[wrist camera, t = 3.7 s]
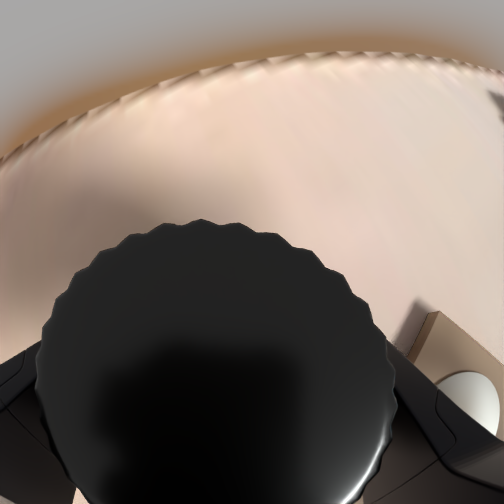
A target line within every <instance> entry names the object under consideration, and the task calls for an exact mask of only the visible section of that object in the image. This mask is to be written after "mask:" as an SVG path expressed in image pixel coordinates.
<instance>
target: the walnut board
mask: <svg viewBox="0 0 504 504" xmlns="http://www.w3.org/2000/svg"><path fill="white" fill-rule="evenodd" d="M407 359H408V360H410V361H411V362H412V363H413V364H414V365H415V366H416V367H417V368H418V369H419V370H420V371H421V372H422V373H423V374H424V375H426V376H427V377H428V378H429V379H430V380H431V381H432V382H433V383H434V384H435V385H436V386H437V387H438V389H440V390H441V391H443V392H444V393H445V394H446V395H447V396H448V397H449V398H450V399H451V400H452V401H453V402H454V403H455V404H456V405H458V406H459V407H460V408H461V409H462V410H463V411H465V412H466V413H467V414H468V415H469V416H471V417H472V418H473V419H474V420H476V421H477V422H478V423H479V424H481V425H482V426H483V427H485V428H486V429H487V430H488V431H490V432H491V433H492V434H493V435H495V436H496V437H497V438H499V439H500V440H502V441H504V365H503V364H502V363H500V362H499V361H498V360H497V359H496V358H495V357H494V356H493V355H492V354H490V353H489V352H488V351H487V350H486V349H485V348H484V347H482V346H481V345H480V344H479V343H478V342H477V341H476V340H474V339H473V338H472V337H471V336H470V335H468V334H467V333H466V332H465V331H464V330H463V329H461V328H460V327H459V326H458V325H456V324H455V323H454V322H453V321H452V320H450V319H449V318H448V317H447V316H445V315H444V314H443V313H442V312H441V311H436V312H432V313H429V314H428V316H427V318H426V320H425V322H424V324H423V326H422V329H421V331H420V333H419V335H418V337H417V339H416V341H415V343H414V345H413V346H412V348H411V350H410V352H409V354H408V356H407ZM354 504H363V495H362V497H361V499H359V500H358V501H357V502H355V503H354Z"/></svg>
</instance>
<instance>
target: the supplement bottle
mask: <svg viewBox="0 0 504 504" xmlns="http://www.w3.org/2000/svg"><path fill="white" fill-rule="evenodd" d="M35 359H36V369H37V380H36V384H35V393H36V397H37V400H38V403H39V406H40V413H39V417H40V422H41V424H42V426H43V428H44V430H45V432H46V434H47V436H48V440H49V446H50V450H51V452H52V453H53V454H54V456H55V457H56V458H57V460H58V461H59V462H60V464H61V465H62V468H63V470H64V473H65V475H66V477H67V479H68V480H69V481H70V482H71V483H72V484H74V485H75V486H76V487H77V488H78V489H79V490H80V491H81V493H82V494H83V496H84V497H85V499H86V500H87V502H88V503H89V504H354V503H355V502H357V501H358V500H359V499H361V497H362V495H363V493H364V489H365V487H366V485H367V484H368V483H369V482H370V481H371V480H372V479H373V478H374V477H375V476H376V475H377V474H378V472H379V471H380V468H381V463H382V456H383V454H384V453H385V451H386V450H387V448H388V447H389V445H390V443H391V442H392V427H391V424H392V422H393V419H394V417H395V414H396V411H397V408H398V404H397V400H396V397H395V396H394V392H393V389H394V383H395V376H396V370H395V368H394V367H393V365H392V363H391V362H390V361H389V359H388V357H387V341H386V336H385V335H384V334H383V333H382V331H381V330H380V329H379V328H378V327H377V326H376V325H375V324H374V323H373V319H372V315H371V311H370V308H369V305H368V303H366V302H365V301H364V300H362V299H361V298H359V297H357V296H356V295H354V294H353V293H352V291H351V289H350V287H349V284H348V283H347V281H346V279H345V277H344V276H343V275H342V274H340V273H338V272H336V271H334V270H330V269H328V268H326V267H325V266H324V265H323V264H322V262H321V261H320V259H319V258H318V257H317V256H316V255H315V254H314V253H313V251H310V250H307V249H303V248H296V247H292V246H291V245H290V244H289V243H288V242H287V241H286V240H285V239H284V238H282V237H281V236H280V235H278V234H277V233H267V232H264V233H256V232H255V231H253V230H252V229H250V228H249V227H247V226H245V225H243V224H241V223H229V224H226V225H217V224H215V223H212V222H210V221H206V220H203V219H199V220H196V221H192V222H190V223H188V224H186V225H182V226H181V225H175V224H169V223H163V224H161V225H160V226H158V227H156V228H154V229H153V230H151V231H150V232H148V233H146V234H139V233H137V234H130V235H129V236H128V237H126V238H125V239H124V240H123V241H122V242H121V243H120V244H119V245H118V246H117V247H115V248H110V249H106V250H103V251H100V252H99V253H98V255H97V256H96V257H95V258H94V260H93V261H92V263H91V264H90V265H89V267H87V268H85V269H82V270H80V271H78V272H77V273H75V275H74V276H73V278H72V280H71V282H70V284H69V287H68V289H67V290H66V291H65V292H64V293H62V294H61V295H60V296H59V297H58V298H56V300H55V304H54V307H53V311H52V315H51V317H50V319H49V320H48V321H47V322H46V323H45V325H44V326H43V328H42V340H41V347H40V349H39V351H38V353H37V355H36V358H35Z"/></svg>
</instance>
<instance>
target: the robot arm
mask: <svg viewBox="0 0 504 504" xmlns="http://www.w3.org/2000/svg"><path fill="white" fill-rule="evenodd" d="M386 341H387V357H388V359H389V361H390V362H391V363H392V365H393V367H394V368H395V370H396V376H395V383H394V389H393V392H394V396H395V397H396V400H397V404H398V408H397V411H396V414H395V417H394V419H393V422H392V424H391V427H392V442H391V443H390V445H389V447H388V448H387V450H386V451H385V453H384V454H383V456H382V463H381V468H380V471H379V472H378V474H377V475H376V476H375V477H374V478H373V479H372V480H371V481H370V482H369V483H368V484H367V485H366V487H365V489H364V493H363V504H504V441H502V440H500V439H499V438H497V437H496V436H495V435H493V434H492V433H491V432H490V431H488V430H487V429H486V428H485V427H483V426H482V425H481V424H479V423H478V422H477V421H476V420H474V419H473V418H472V417H471V416H469V415H468V414H467V413H466V412H465V411H463V410H462V409H461V408H460V407H459V406H458V405H456V404H455V403H454V402H453V401H452V400H451V399H450V398H449V397H448V396H447V395H446V394H445V393H444V392H443V391H441V390H440V389H438V387H437V386H436V385H435V384H434V383H433V382H432V381H431V380H430V379H429V378H428V377H427V376H426V375H424V374H423V373H422V372H421V371H420V370H419V369H418V368H417V367H416V366H415V365H414V364H413V363H412V362H411V361H410V360H408V359H407V358H406V357H405V356H404V355H403V354H402V353H401V352H400V351H399V350H398V349H397V348H396V347H394V346H393V345H392V344H391V343H390V342H389V341H388V340H387V339H386ZM40 347H41V340H40V341H39V342H37V343H35V344H34V345H32V346H30V347H29V348H27V349H26V350H24V351H22V352H21V353H19V354H18V355H16V356H14V357H13V358H11V359H9V360H8V361H6V362H4V363H2V364H0V504H72V503H73V499H74V495H75V491H76V486H75V485H74V484H72V483H71V482H70V481H69V480H68V479H67V477H66V475H65V473H64V470H63V468H62V465H61V464H60V462H59V461H58V460H57V458H56V457H55V456H54V454H53V453H52V452H51V450H50V446H49V440H48V436H47V434H46V432H45V430H44V428H43V426H42V424H41V422H40V417H39V413H40V406H39V403H38V400H37V397H36V393H35V384H36V380H37V369H36V359H35V358H36V355H37V353H38V351H39V349H40Z"/></svg>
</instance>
